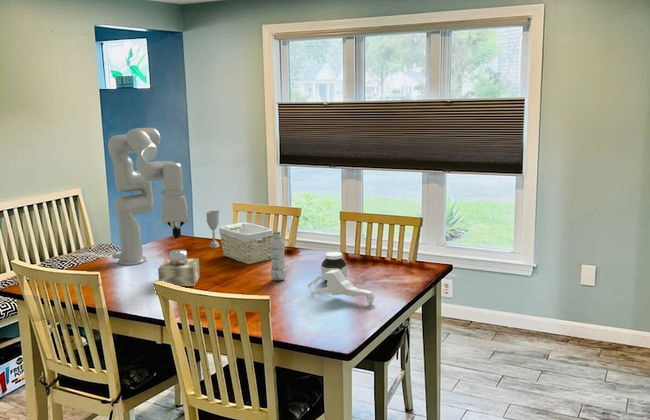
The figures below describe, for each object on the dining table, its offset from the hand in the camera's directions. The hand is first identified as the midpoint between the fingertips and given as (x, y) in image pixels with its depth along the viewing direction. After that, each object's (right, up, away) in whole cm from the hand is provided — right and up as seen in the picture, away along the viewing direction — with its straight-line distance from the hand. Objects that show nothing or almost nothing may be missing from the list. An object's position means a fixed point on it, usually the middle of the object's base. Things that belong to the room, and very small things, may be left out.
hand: (177, 237), depth 251 cm
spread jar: (+65, -18, +1) cm, 67 cm away
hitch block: (0, -19, +4) cm, 19 cm away
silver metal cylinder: (0, -18, +3) cm, 18 cm away
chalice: (+4, -8, +63) cm, 63 cm away
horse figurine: (+67, -23, -23) cm, 74 cm away
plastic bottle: (+42, -18, +3) cm, 45 cm away
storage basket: (+24, -12, +39) cm, 47 cm away
